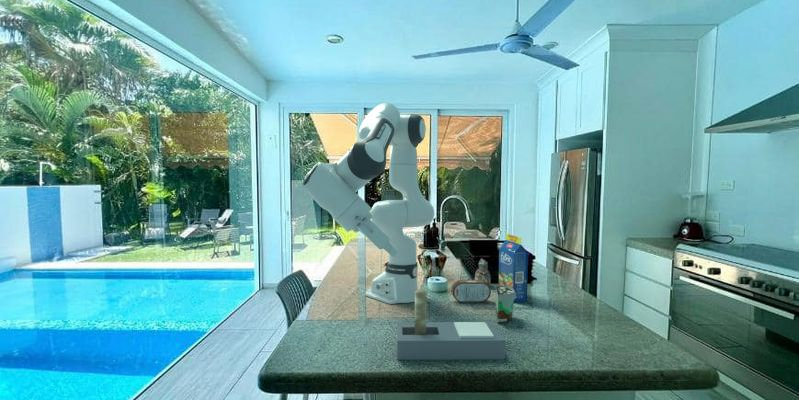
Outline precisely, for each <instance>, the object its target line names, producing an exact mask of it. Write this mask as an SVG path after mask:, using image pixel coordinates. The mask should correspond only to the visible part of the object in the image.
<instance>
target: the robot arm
mask: <svg viewBox="0 0 799 400" xmlns="http://www.w3.org/2000/svg"><path fill="white" fill-rule="evenodd" d="M426 132H427V128H426V123H425V119H424V118H423V117H422V116H421V114H420V115H419V114H414V113H411V114H403V113H400V110H399V109H398V107H397V106H395V104H392V103H390V102H382V103H380V104H378V105H377V106H375V107H374V108H372V109H371V110H370V111H369V112H368V114H367V115H366V116H365V118H364V119H363V120H362V123H361V124H360V127H359V130H358V135H359V136H358V137H359V138H360V139H358V140H357V141H356V142H354V144H353V145H352V146H351V147H350V148H349V150H347V152H346V153H345V154H344V155H343V156H342V157H341V158H340V159H339V160H337V161H334V162H330V163H329V162H328V163H324V162H322V161H318V162H317V163H315V164H314V165H313V166H312V167H311V168H310V169H309V171H308V172H307V173H306V175H305V176H304V178H303V180H302V185H303V188H304V190H305V192H306V193H307V194H308V195H309V196H310V197H311V199H313V201H314V202H315V203H316V204H317V205H318V206H319V207H320V208H321V209H323V210H325V211H326V212H328V213H329V214H330V215H331V217H332V219H333V220H334V221H335V222H336V223H337V224H338V225H339V226H341V228H342V229H344V230H345V231H346V232H347V233H348V232H351V231H353V233H355V234H356V233H359V232H360V233H361V234H362V235H363V236H364V237H366V238H367V239H368V240H369V241H370V242H371V243H372V244H373V245H374V246H376V248H377V249H378V250H381V251H382V249H383V250H384V251H385V252H387V253H388V261H387V262H385V263H383V264H382V265H383V266H382V268H385V269H384V270H383V272H381V273H379V274H378V275H377V276H376V277H375V278H373V279H372V281H371V286H370V288H369V289H368V290H366V291H365V294H364V296H365V297H368V298H371V299H374V300H377V301H380V302H382V303H386V304H389V305H394V304H395V305H396V304H406V303H407V304H408V303H413V302H414V303H415V291H416V290H420V289H419V285H418V284H419V283H418V274H419V273H418V271H419V270H418V269H419V268H418V266H419V265H418V264H419V263H418V261H417V256H418V255H417V247H418V246H417V242H416V241H415V240H414V238H411V236H407V235H405V234H404V230H403V229H404V228H420V227H425V226H428V225H430V224H431V223H432V222H433V220H434V218H435V209H434V206H433V204H432V203H430V201H428V200H427V199H426V198H425V196H424V195H423V193H422V191H421V189H420V185H419V179H418V176H419V175H418V152H417V147H418V146H419V144H421V143H422V142H423V141H424V139H425V136H426ZM389 146H390V151H389V164H388V166H389V167H388V171H389V173H388V183H389V185H390V186H391V187H392V188H393V189H394V190H396V191H398V192H400V194H401V195H402V198H403V199H387V200H385V199H384V200H380V201H377V202H375V203H374V204H373V206H372V207H371V206H370V205H369V204H368V203H367V202H366V201H365V200H364V199H363V198H362V197H361V196H360V195H359V194H358V193H357V192H358V191H360V190H361V189H362V188H363V187H365V185H367V184H368V183H369V182H371V181H372V180H373V179H375V178H376V177H378V176H379V175H380V174H382V173H383V172H384V171H385V169H386V168H387V167H386V166H387V151H388V148H389Z"/></svg>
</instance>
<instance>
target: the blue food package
mask: <svg viewBox="0 0 799 400" xmlns="http://www.w3.org/2000/svg"><path fill="white" fill-rule="evenodd" d="M505 235H506V236H505V240H504V241H503V243H502V244H501V245H500V247H499V251H498V252H499V253H498V285H504V286H508V287H511V288H513V289H514V291H515V294H516V298H515V299H514V303H523V302H528V273H529V272H528V270H529V268H528V266H529V256H528V251H527V250H526V249H525V247H524V246H523V244H522V237H520V236H517V235H513V234H510V233H508V232H507V233H506V234H505Z"/></svg>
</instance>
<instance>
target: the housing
mask: <svg viewBox="0 0 799 400" xmlns="http://www.w3.org/2000/svg"><path fill="white" fill-rule="evenodd" d="M505 350H506V340H505V338H504V337H503V335H502V334H501V333H500V331H499V330H498V328H497V327H496V326H495V324H494V322H492V321H433V322H432V321H426V335H415V321H414V322H413V321H404V322H403V321H402V322H401V321H399V322H398V321H397V322H396V360H398V361H401V360H402V361H403V360H405V361H409V360H410V361H412V360H414V361H418V360H425V361H426V360H429V361H433V360H435V361H436V360H439V361H440V360H442V361H443V360H447V361H448V360H450V361H451V360H457V361H458V360H505V359H506V358H505V357H506V356H505V355H506V353H505Z"/></svg>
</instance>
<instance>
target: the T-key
mask: <svg viewBox="0 0 799 400" xmlns="http://www.w3.org/2000/svg"><path fill="white" fill-rule="evenodd" d="M427 292H428V291H426V290H425V289H419V290H416V291H415V301H414V322H415V335H426V322H427V304H428V302H427V301H428V300H427V295H428V293H427Z"/></svg>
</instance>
